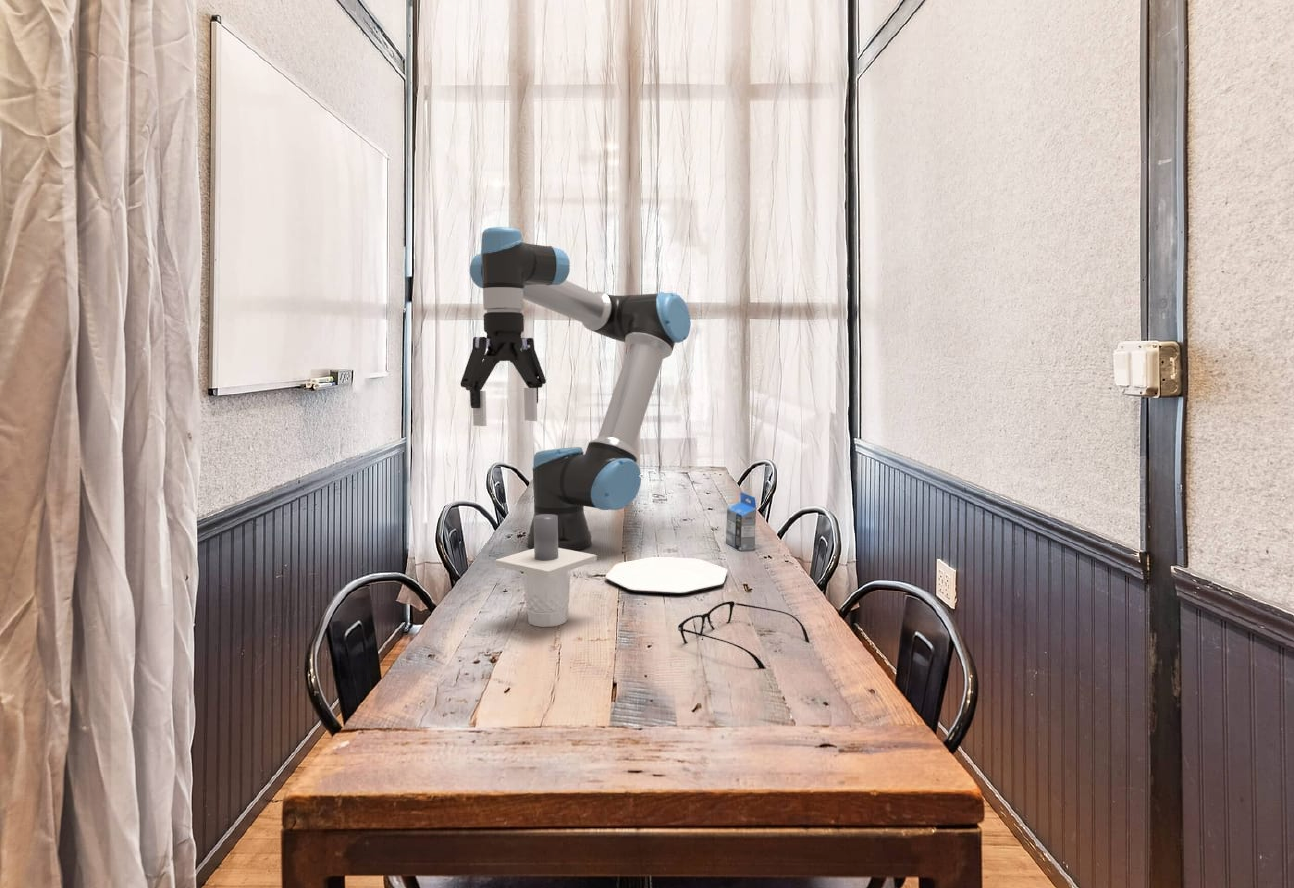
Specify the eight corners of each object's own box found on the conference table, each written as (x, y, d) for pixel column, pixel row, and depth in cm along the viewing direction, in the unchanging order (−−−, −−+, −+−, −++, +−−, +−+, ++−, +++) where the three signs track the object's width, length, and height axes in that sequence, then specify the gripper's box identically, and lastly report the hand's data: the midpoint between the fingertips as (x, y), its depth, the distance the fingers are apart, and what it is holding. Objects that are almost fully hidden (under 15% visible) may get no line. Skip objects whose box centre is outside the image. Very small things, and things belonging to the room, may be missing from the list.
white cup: (562, 630, 125) (561, 570, 123) (517, 627, 126) (515, 568, 125) (576, 614, 132) (576, 558, 131) (533, 611, 134) (532, 556, 133)
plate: (719, 602, 140) (719, 594, 139) (595, 594, 144) (595, 587, 144) (731, 566, 163) (731, 560, 162) (623, 561, 167) (623, 555, 167)
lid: (544, 550, 136) (544, 506, 135) (596, 560, 129) (596, 514, 129) (495, 565, 127) (493, 518, 126) (548, 577, 120) (547, 527, 119)
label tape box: (725, 542, 182) (725, 492, 181) (740, 541, 183) (741, 491, 182) (740, 551, 174) (740, 498, 172) (756, 550, 175) (757, 497, 174)
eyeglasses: (732, 620, 130) (732, 597, 130) (815, 642, 120) (816, 617, 120) (672, 648, 118) (672, 623, 117) (760, 676, 108) (760, 648, 107)
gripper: (534, 315, 157) (536, 417, 160) (438, 309, 137) (442, 427, 139) (562, 313, 153) (563, 419, 155) (466, 308, 133) (470, 429, 135)
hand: (506, 423), depth 147 cm, fingers open, 13 cm apart
